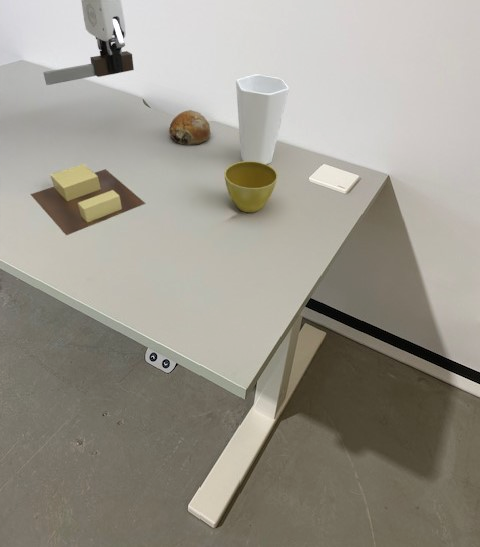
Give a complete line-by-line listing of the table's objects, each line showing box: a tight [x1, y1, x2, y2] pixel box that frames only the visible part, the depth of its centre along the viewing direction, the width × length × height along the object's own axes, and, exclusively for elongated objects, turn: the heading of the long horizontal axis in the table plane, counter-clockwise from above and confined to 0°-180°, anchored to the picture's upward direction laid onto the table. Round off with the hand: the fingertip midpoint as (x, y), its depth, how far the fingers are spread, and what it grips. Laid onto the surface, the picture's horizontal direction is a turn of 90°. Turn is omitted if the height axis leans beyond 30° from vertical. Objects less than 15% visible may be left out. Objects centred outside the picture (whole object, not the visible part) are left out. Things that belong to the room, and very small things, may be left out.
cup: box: [235, 73, 290, 165], centre depth 92 cm, size 11×10×17 cm
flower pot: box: [223, 160, 278, 213], centre depth 82 cm, size 10×10×7 cm
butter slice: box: [78, 190, 122, 223], centre depth 77 cm, size 7×2×3 cm, turn 131°
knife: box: [42, 50, 135, 86], centre depth 92 cm, size 20×2×4 cm, turn 131°
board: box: [30, 168, 146, 236], centre depth 81 cm, size 16×16×2 cm
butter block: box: [49, 163, 100, 201], centre depth 82 cm, size 7×6×3 cm
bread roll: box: [168, 109, 211, 146], centre depth 103 cm, size 10×10×8 cm
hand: (113, 70), depth 95 cm, fingers closed on knife, 2 cm apart
